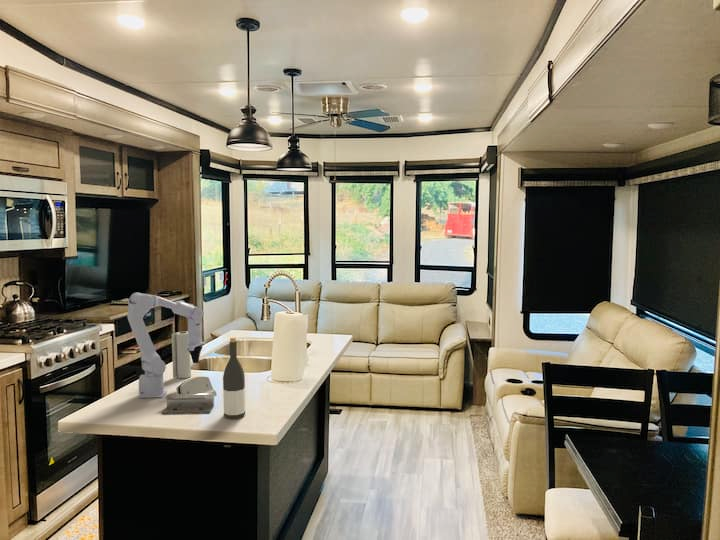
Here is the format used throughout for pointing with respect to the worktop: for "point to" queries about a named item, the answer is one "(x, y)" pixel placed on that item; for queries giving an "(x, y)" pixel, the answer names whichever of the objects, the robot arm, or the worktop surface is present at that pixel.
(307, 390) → the worktop surface
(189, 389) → the beige piece
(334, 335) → the worktop surface
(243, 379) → the wine bottle
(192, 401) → the fixed leaf
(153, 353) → the robot arm
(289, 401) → the worktop surface
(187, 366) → the paper towel roll
